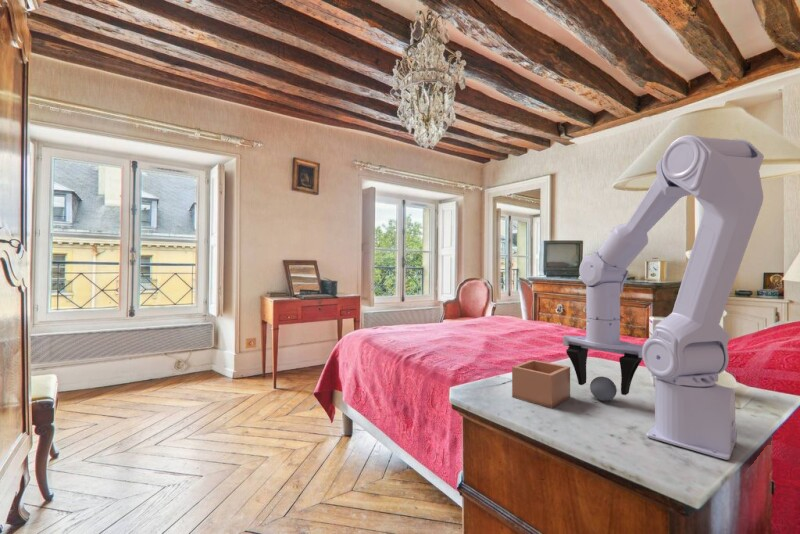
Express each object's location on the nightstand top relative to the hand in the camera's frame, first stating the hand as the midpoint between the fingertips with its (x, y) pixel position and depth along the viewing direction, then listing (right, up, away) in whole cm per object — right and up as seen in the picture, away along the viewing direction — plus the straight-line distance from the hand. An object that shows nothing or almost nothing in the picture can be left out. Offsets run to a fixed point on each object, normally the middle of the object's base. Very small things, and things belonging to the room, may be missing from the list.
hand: (602, 388), depth 72 cm
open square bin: (-11, -2, +2) cm, 12 cm away
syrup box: (+19, -2, +9) cm, 21 cm away
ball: (0, -2, 0) cm, 2 cm away
